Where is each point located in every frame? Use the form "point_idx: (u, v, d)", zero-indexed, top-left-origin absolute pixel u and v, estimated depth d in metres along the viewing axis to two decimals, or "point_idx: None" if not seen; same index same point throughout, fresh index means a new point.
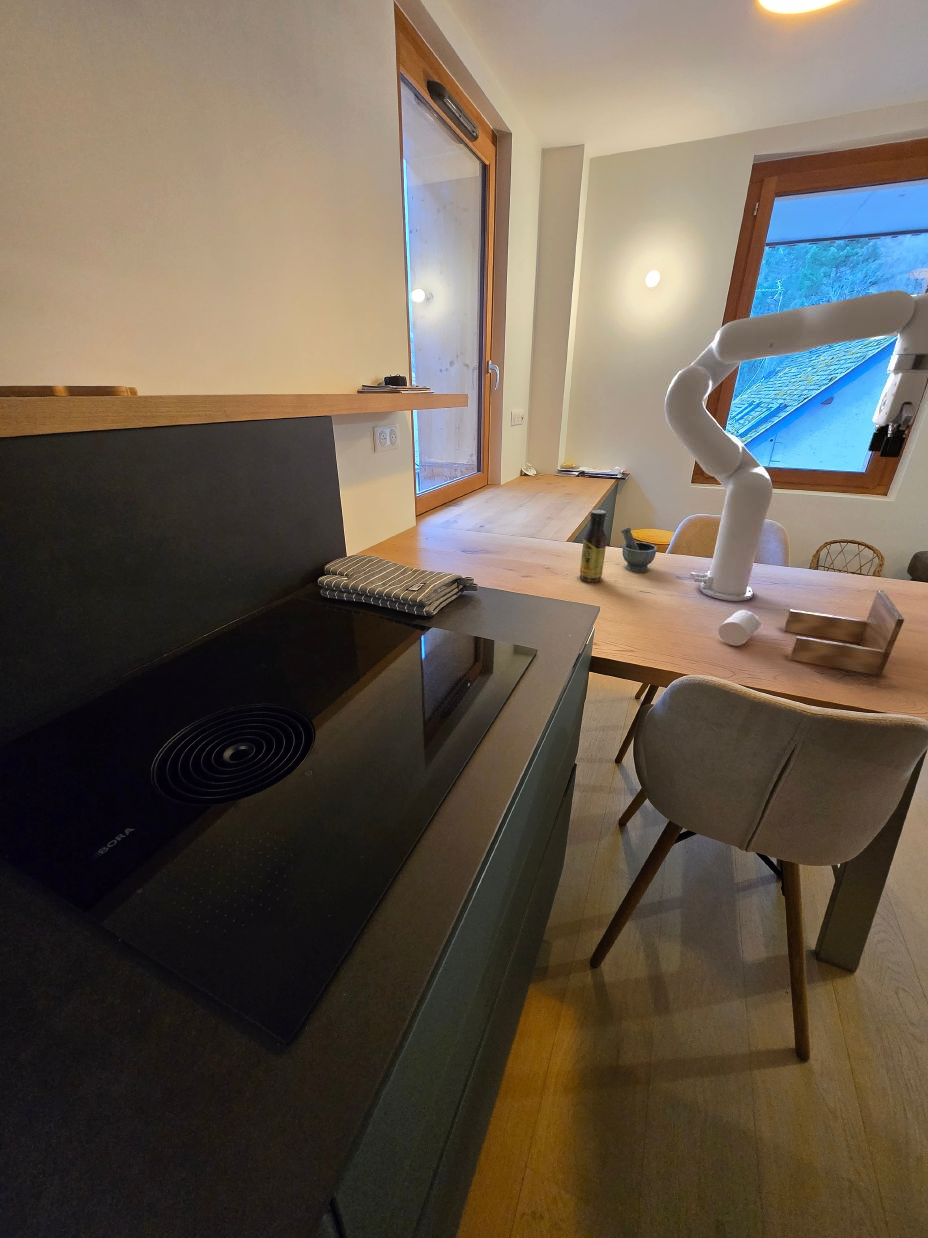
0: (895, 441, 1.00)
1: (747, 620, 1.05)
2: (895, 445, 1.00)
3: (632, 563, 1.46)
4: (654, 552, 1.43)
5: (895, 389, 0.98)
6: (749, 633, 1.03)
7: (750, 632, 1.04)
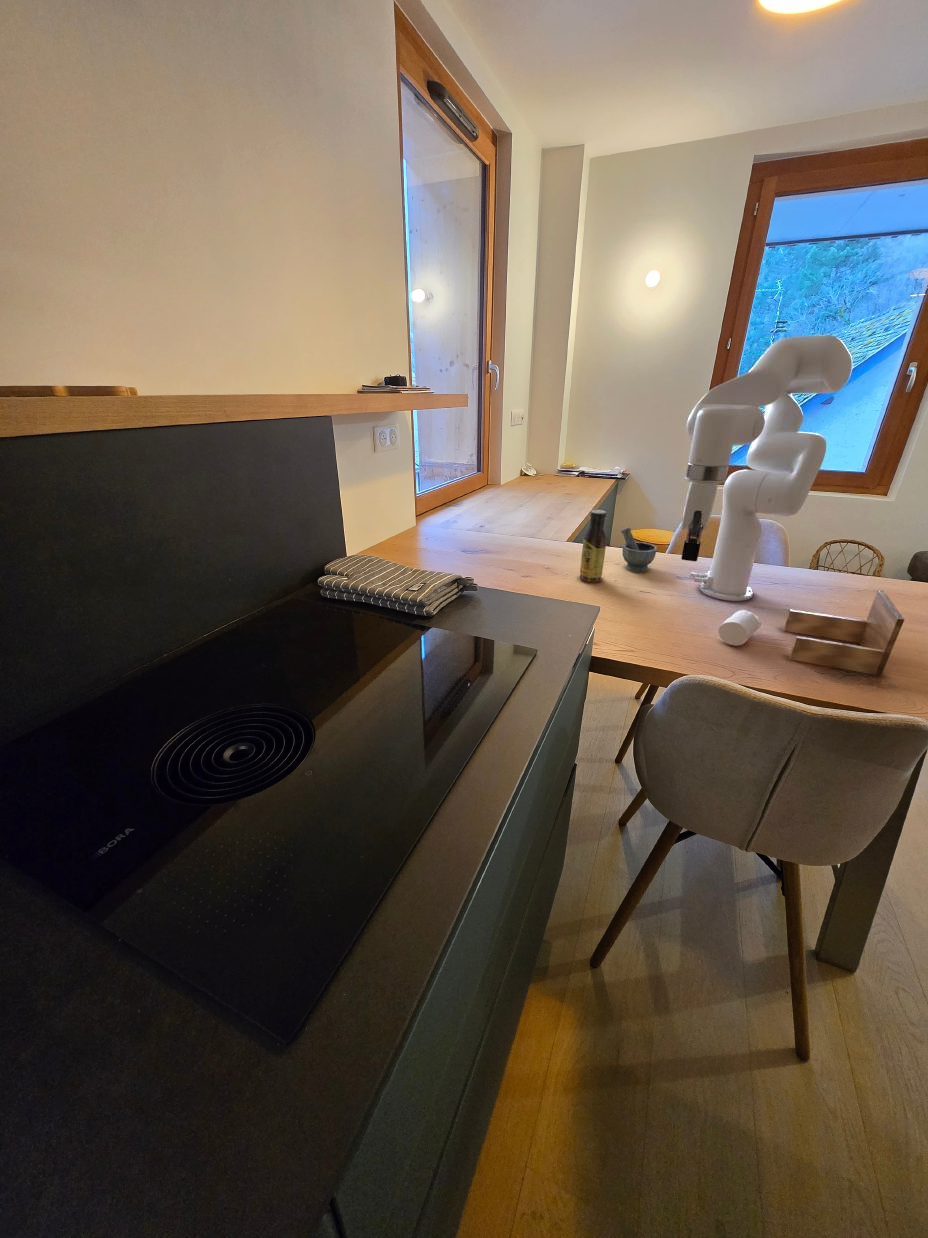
0: (691, 547, 1.05)
1: (747, 620, 1.05)
2: (692, 551, 1.05)
3: (632, 563, 1.46)
4: (654, 552, 1.43)
5: (687, 497, 0.99)
6: (749, 633, 1.03)
7: (750, 632, 1.04)
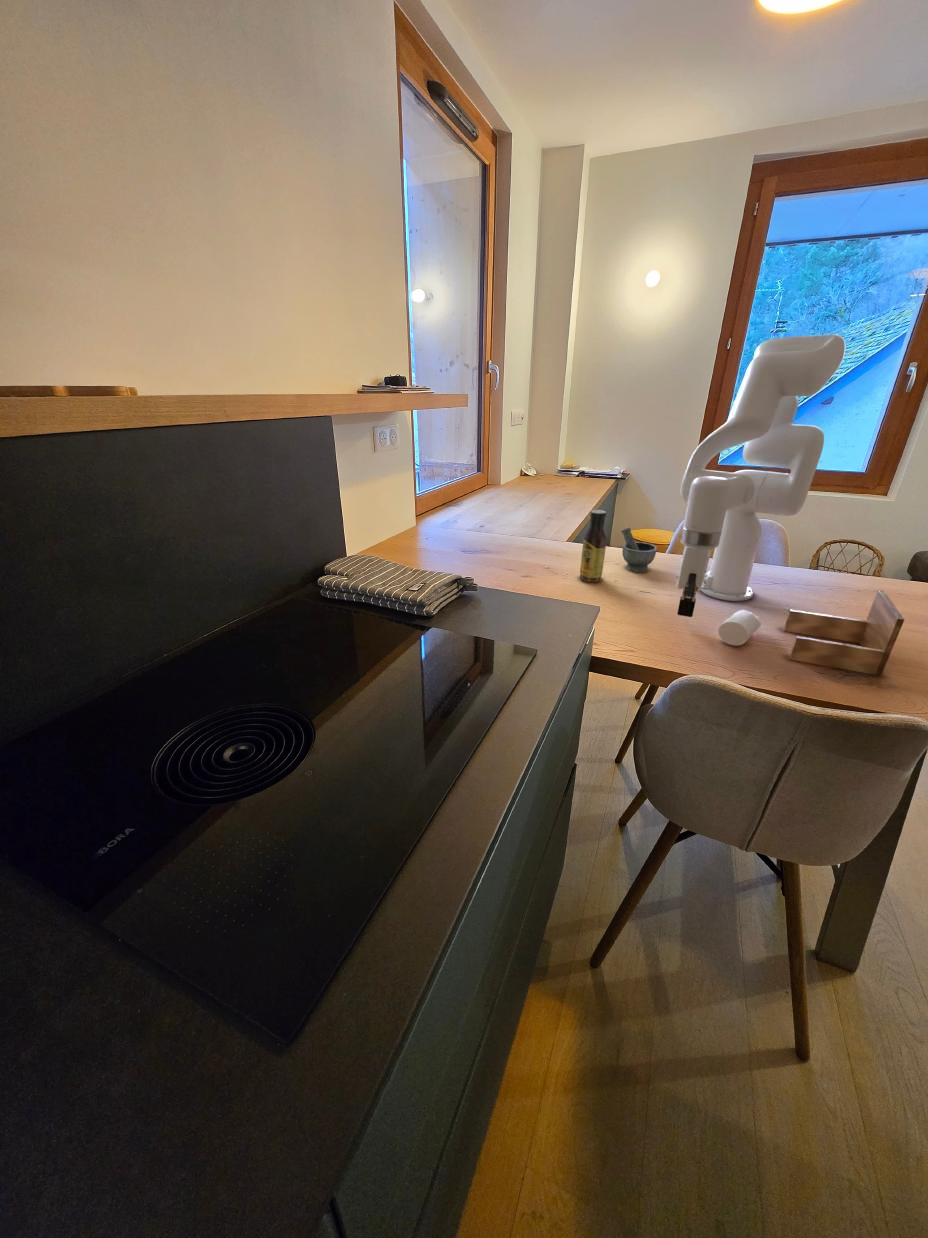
0: (687, 604, 1.10)
1: (747, 620, 1.05)
2: (687, 607, 1.10)
3: (632, 563, 1.46)
4: (654, 552, 1.43)
5: (682, 560, 1.04)
6: (749, 633, 1.03)
7: (750, 632, 1.04)
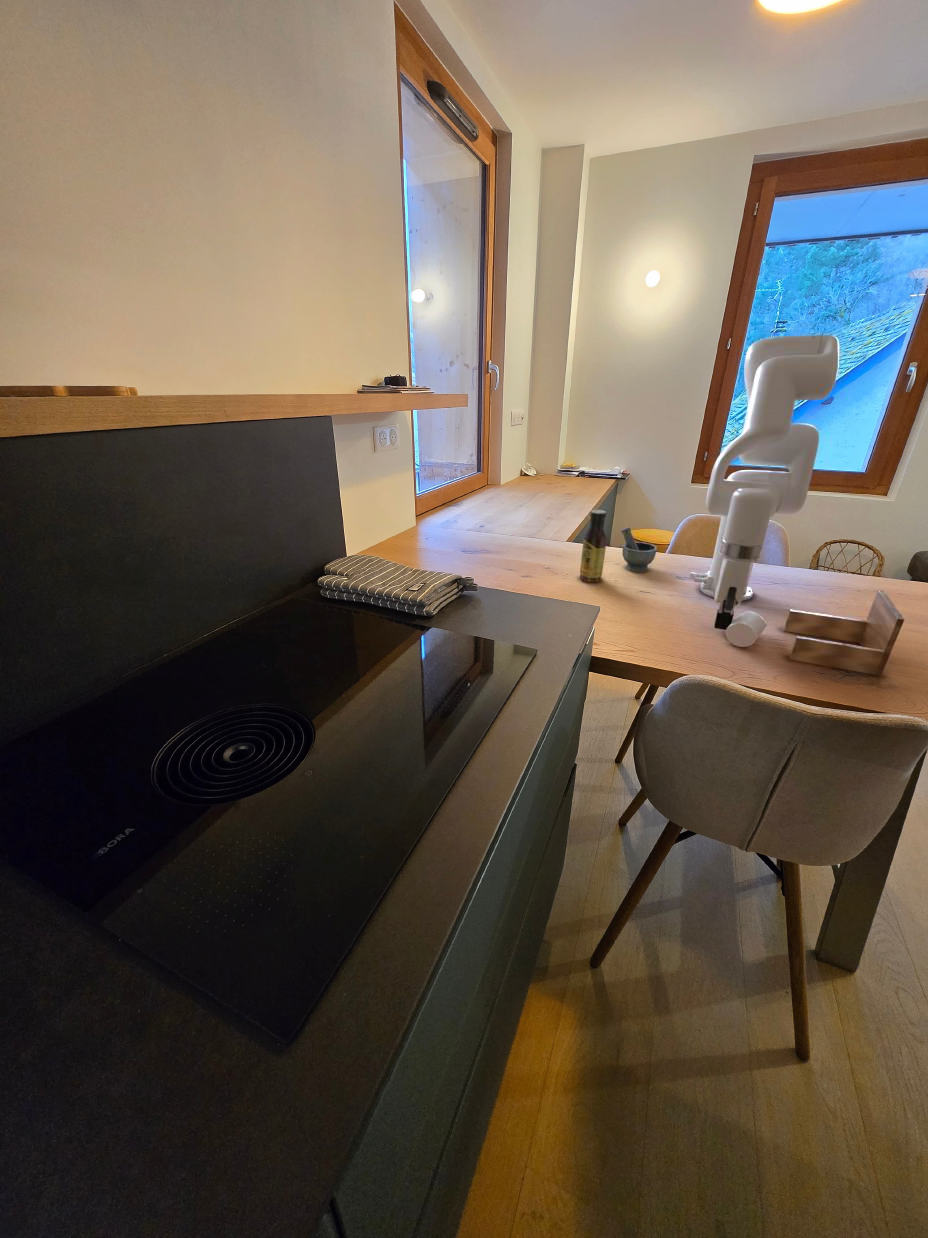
0: (724, 617, 1.08)
1: (754, 622, 1.04)
2: (725, 621, 1.08)
3: (632, 563, 1.46)
4: (654, 552, 1.43)
5: (722, 573, 1.02)
6: (757, 634, 1.03)
7: (758, 633, 1.03)
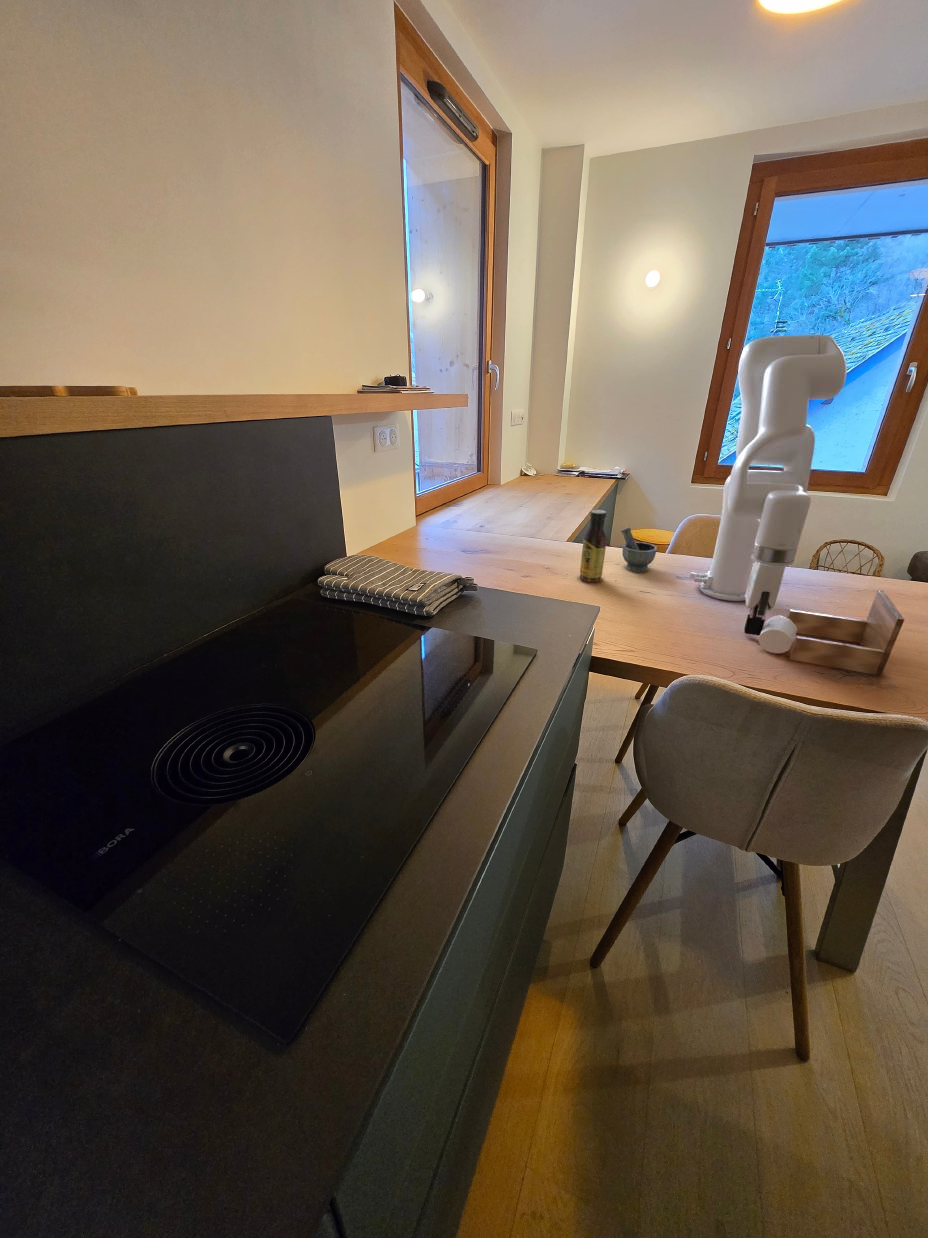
0: (755, 622, 1.06)
1: (788, 627, 1.02)
2: (756, 626, 1.06)
3: (632, 563, 1.46)
4: (654, 552, 1.43)
5: (755, 578, 1.00)
6: (792, 640, 1.00)
7: (792, 639, 1.01)
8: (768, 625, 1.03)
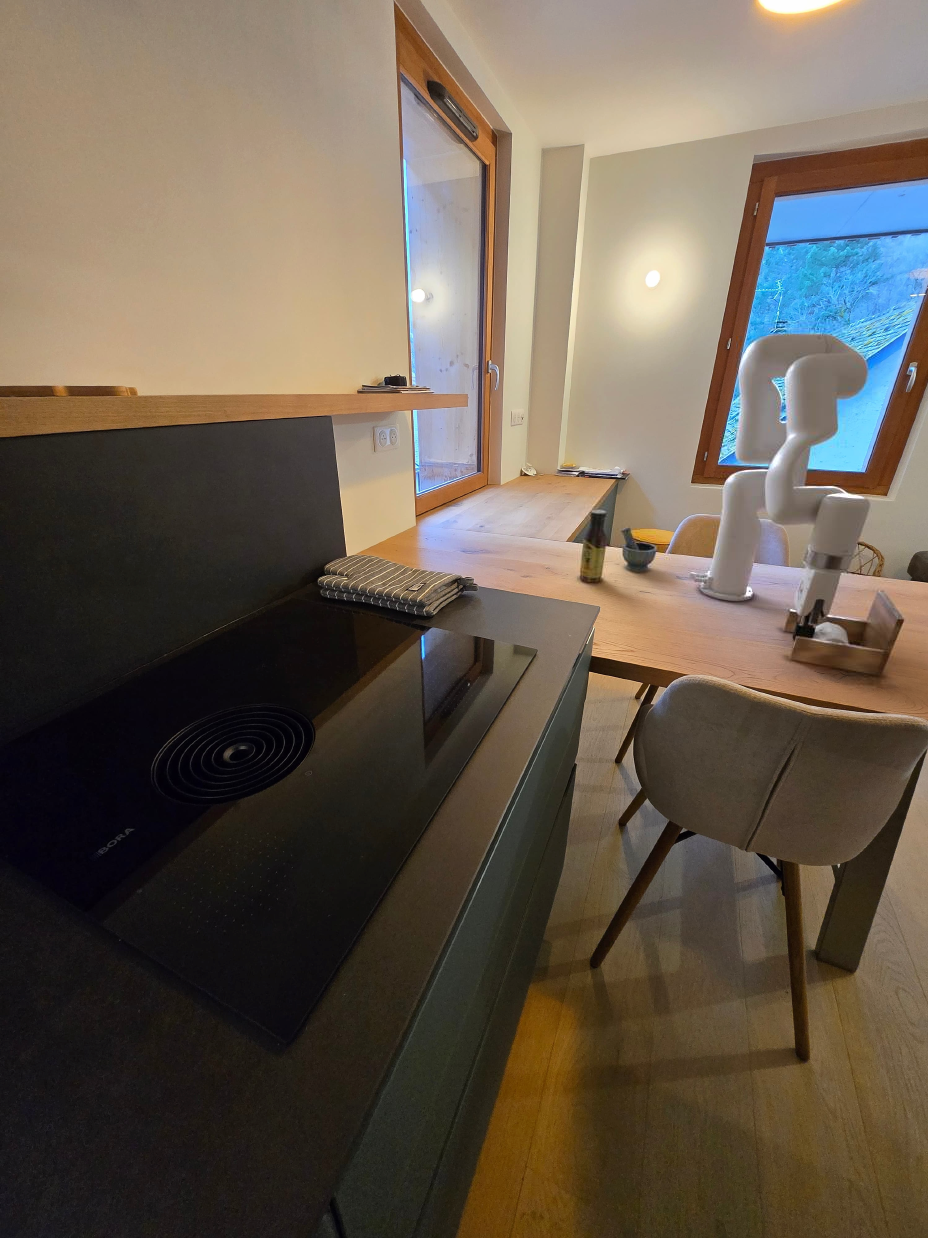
0: (806, 630, 1.02)
1: (843, 634, 0.98)
2: (806, 634, 1.02)
3: (632, 563, 1.46)
4: (654, 552, 1.43)
5: (808, 585, 0.96)
6: None
7: None
8: (822, 633, 1.00)
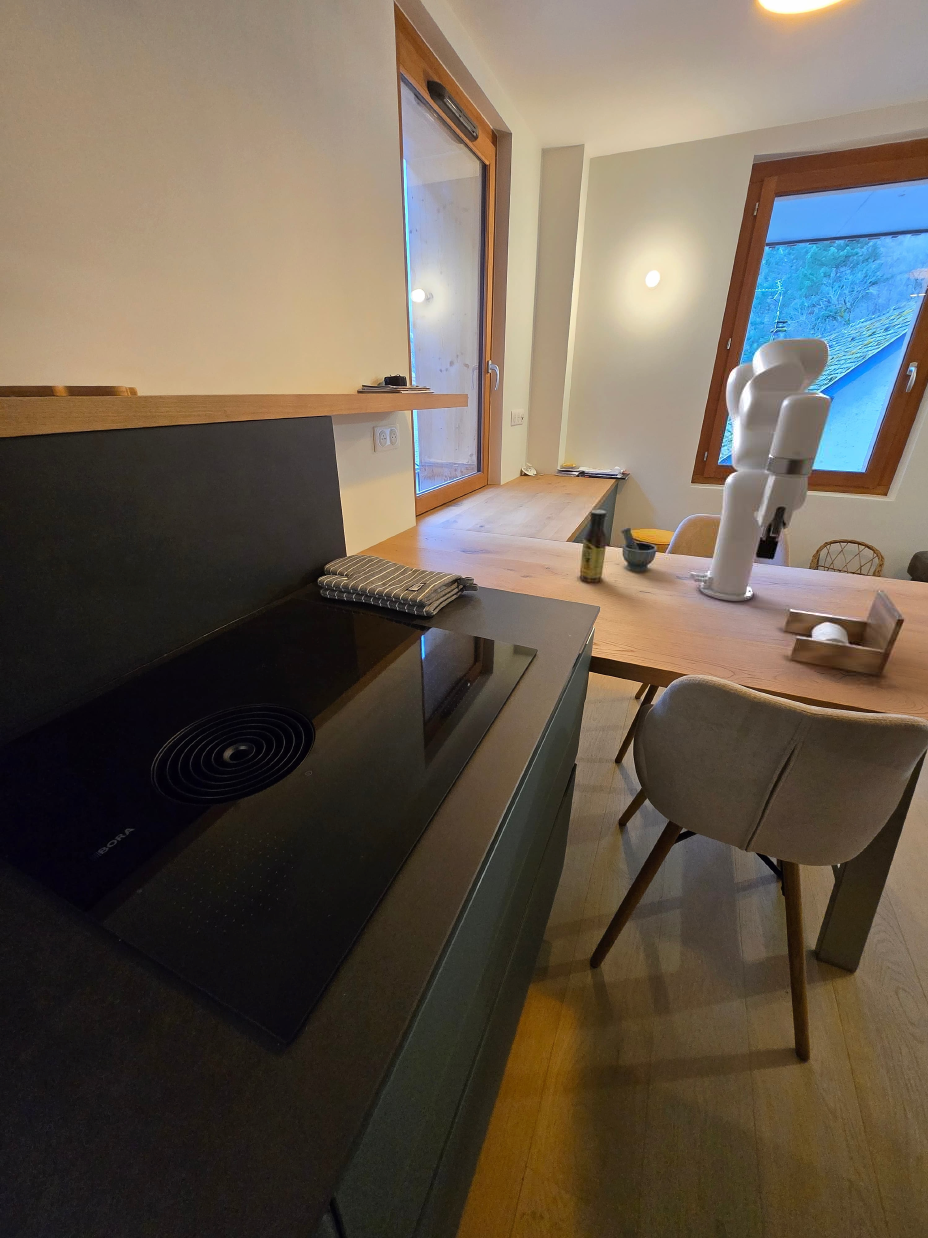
0: (769, 544, 0.99)
1: (843, 634, 0.98)
2: (769, 548, 0.99)
3: (632, 563, 1.46)
4: (654, 552, 1.43)
5: (769, 492, 0.93)
6: None
7: None
8: (822, 634, 1.00)
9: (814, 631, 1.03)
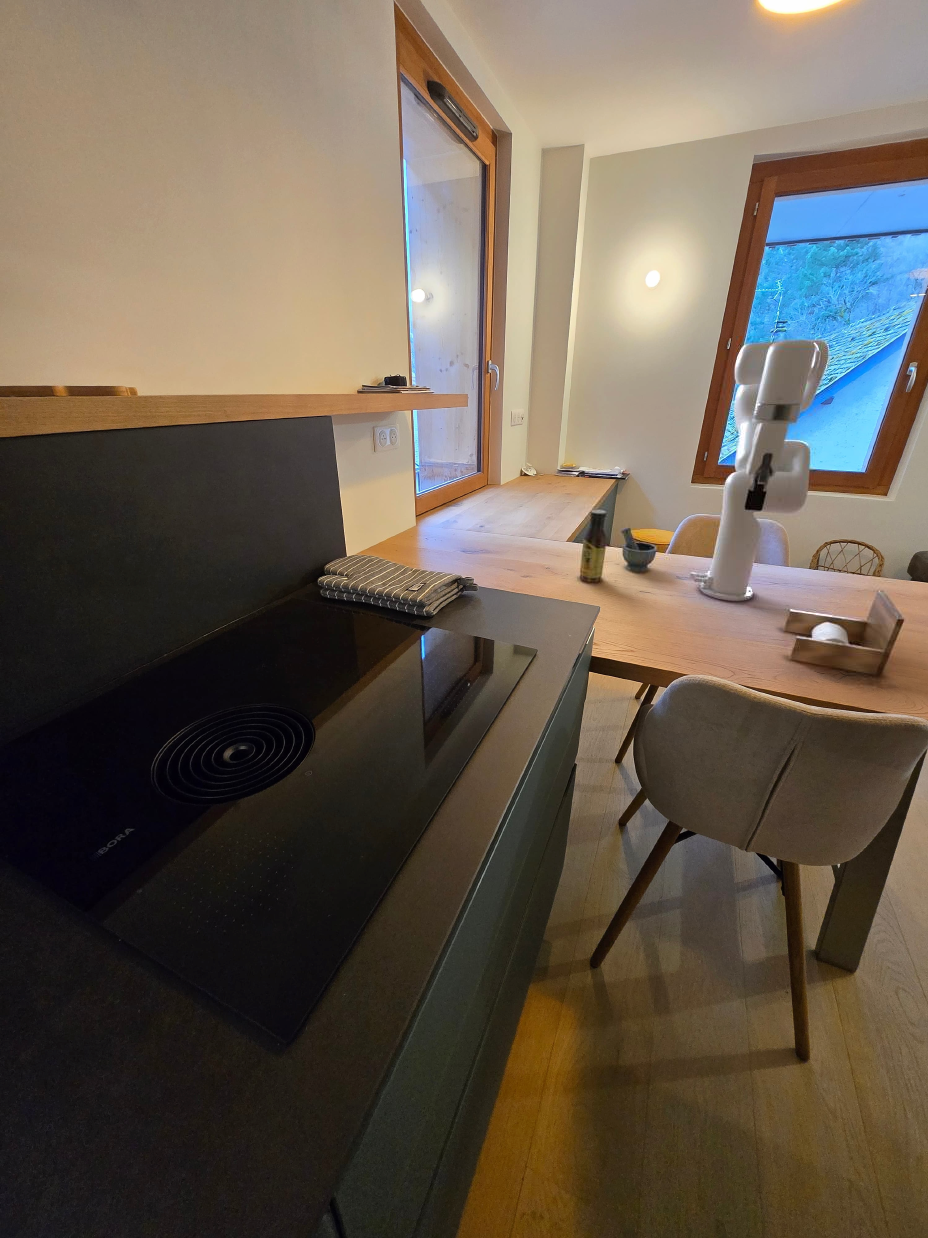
0: (757, 495, 1.00)
1: (843, 634, 0.98)
2: (757, 499, 1.00)
3: (632, 563, 1.46)
4: (654, 552, 1.43)
5: (756, 440, 0.94)
6: None
7: None
8: (822, 634, 1.00)
9: (814, 631, 1.03)
